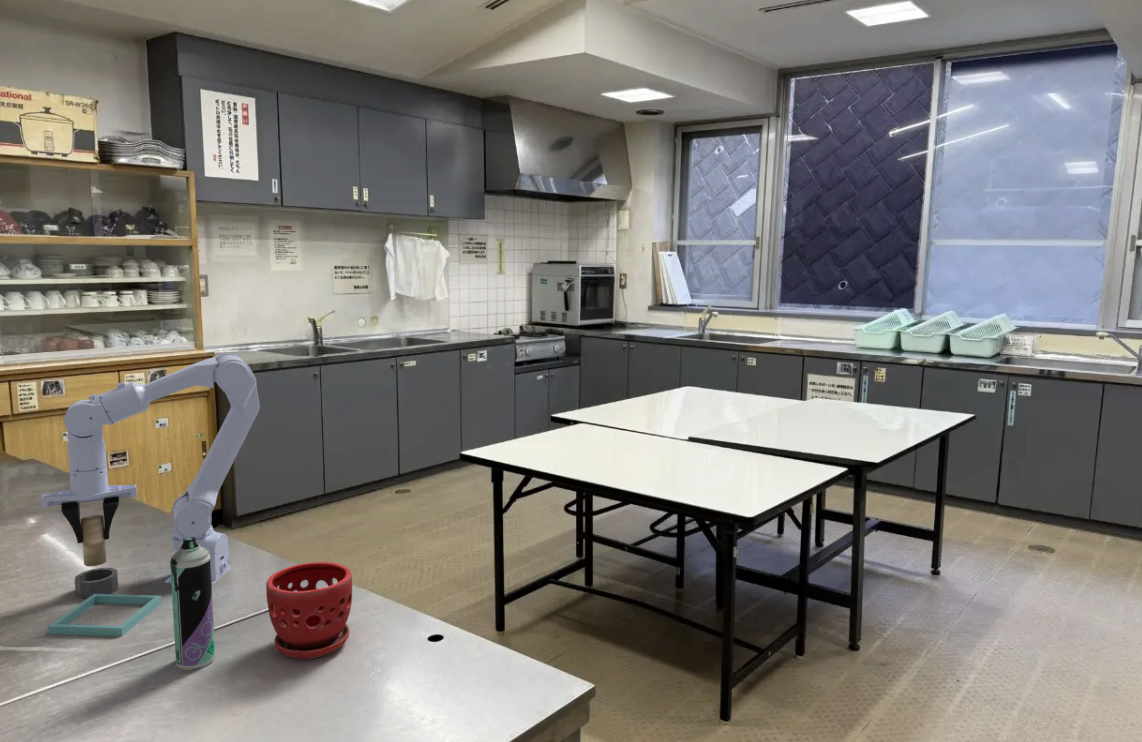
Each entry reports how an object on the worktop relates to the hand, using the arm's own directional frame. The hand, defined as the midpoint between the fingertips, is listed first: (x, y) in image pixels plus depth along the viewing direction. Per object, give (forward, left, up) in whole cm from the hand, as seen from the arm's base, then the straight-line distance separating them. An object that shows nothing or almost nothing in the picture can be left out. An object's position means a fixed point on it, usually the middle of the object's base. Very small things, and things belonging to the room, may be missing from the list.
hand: (93, 539), depth 139 cm
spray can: (-29, +22, -11) cm, 38 cm away
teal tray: (-8, +10, -10) cm, 17 cm away
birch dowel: (0, 0, -4) cm, 4 cm away
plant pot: (-45, +16, -11) cm, 49 cm away
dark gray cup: (0, 0, -10) cm, 10 cm away
